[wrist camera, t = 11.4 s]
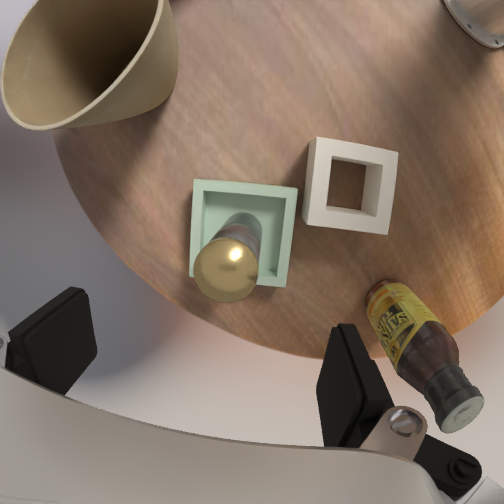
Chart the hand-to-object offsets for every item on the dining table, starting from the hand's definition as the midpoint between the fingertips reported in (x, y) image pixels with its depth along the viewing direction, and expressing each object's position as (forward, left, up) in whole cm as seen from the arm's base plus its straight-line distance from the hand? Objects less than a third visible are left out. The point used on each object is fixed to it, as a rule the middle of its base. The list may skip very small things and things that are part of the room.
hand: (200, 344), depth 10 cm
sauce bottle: (-18, +7, -23) cm, 30 cm away
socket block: (-10, -6, -23) cm, 25 cm away
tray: (0, 0, -23) cm, 23 cm away
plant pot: (+13, -16, -23) cm, 31 cm away
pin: (0, 0, -22) cm, 22 cm away
